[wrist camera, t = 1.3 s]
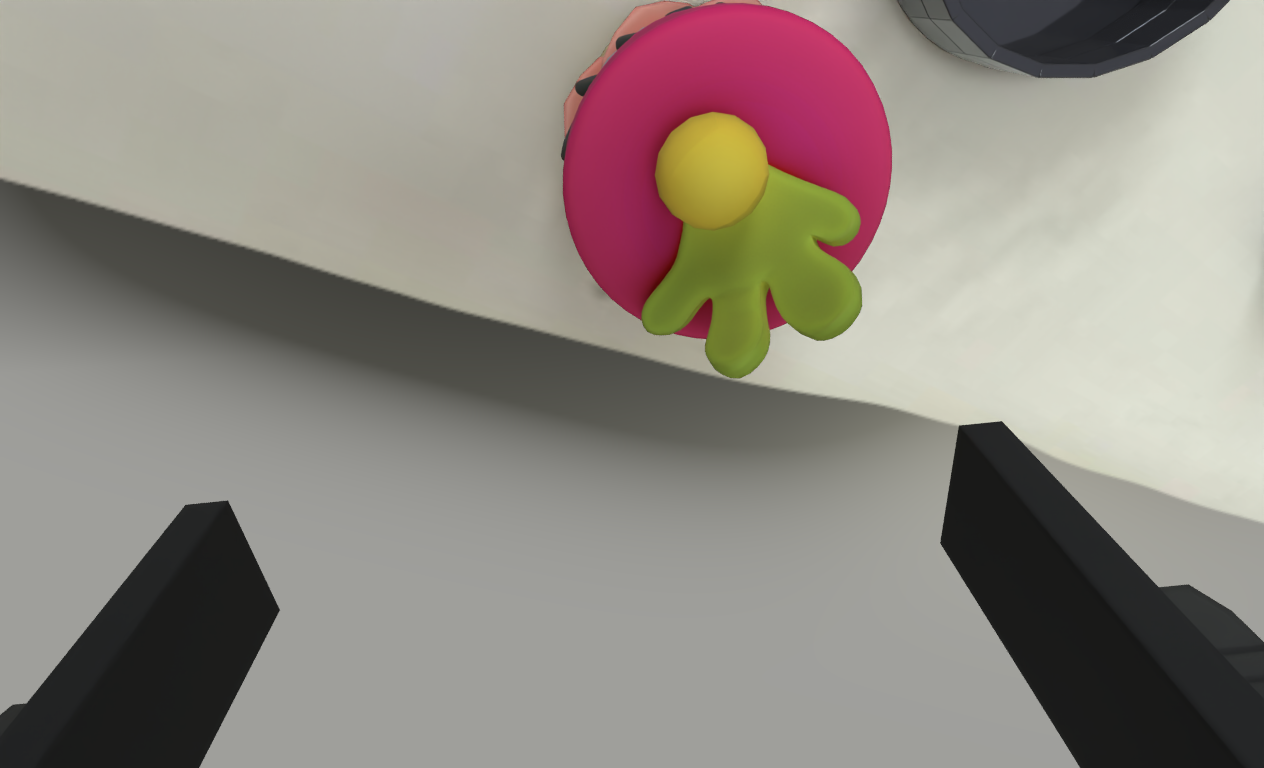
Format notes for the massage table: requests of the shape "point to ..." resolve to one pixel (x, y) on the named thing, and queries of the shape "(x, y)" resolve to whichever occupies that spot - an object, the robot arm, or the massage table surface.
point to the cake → (726, 175)
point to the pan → (1058, 32)
